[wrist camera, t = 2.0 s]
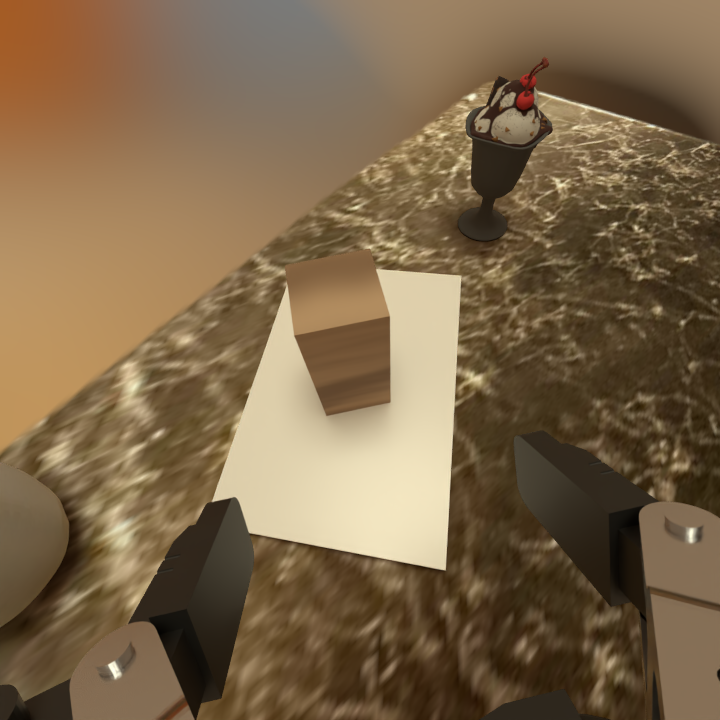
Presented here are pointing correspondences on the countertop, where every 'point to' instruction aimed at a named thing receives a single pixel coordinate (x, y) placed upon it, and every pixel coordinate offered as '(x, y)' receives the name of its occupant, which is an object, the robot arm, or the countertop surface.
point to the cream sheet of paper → (356, 438)
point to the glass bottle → (27, 539)
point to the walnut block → (342, 329)
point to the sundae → (501, 149)
